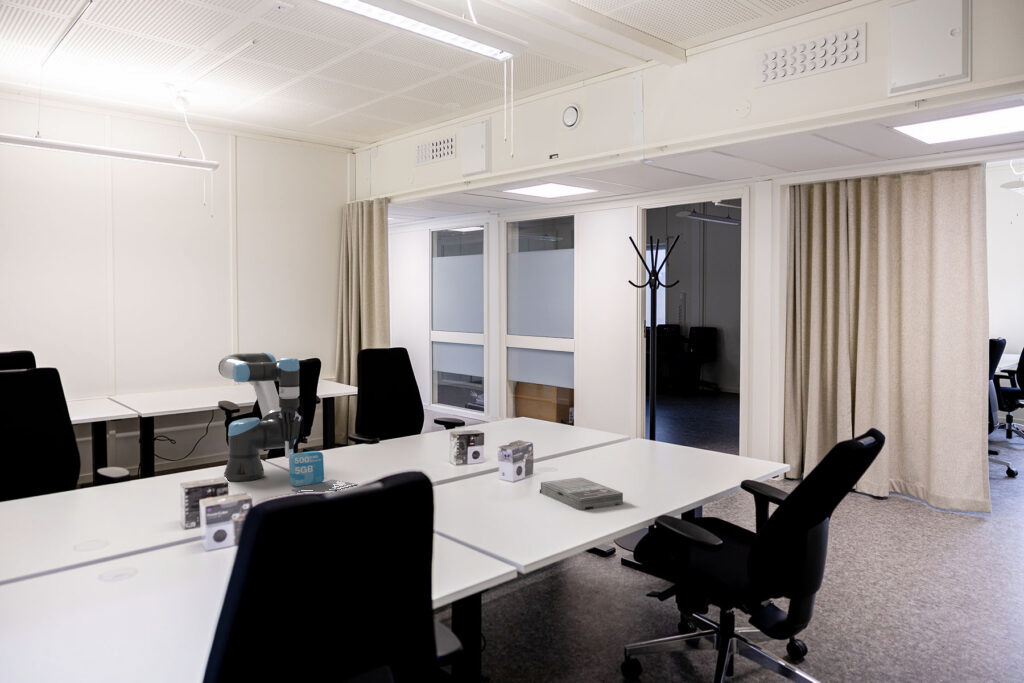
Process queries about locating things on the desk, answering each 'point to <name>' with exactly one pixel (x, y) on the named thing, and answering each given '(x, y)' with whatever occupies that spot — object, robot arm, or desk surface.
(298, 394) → the robot arm
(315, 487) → the mat
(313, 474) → the data package
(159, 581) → the desk surface
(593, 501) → the grey flat block
